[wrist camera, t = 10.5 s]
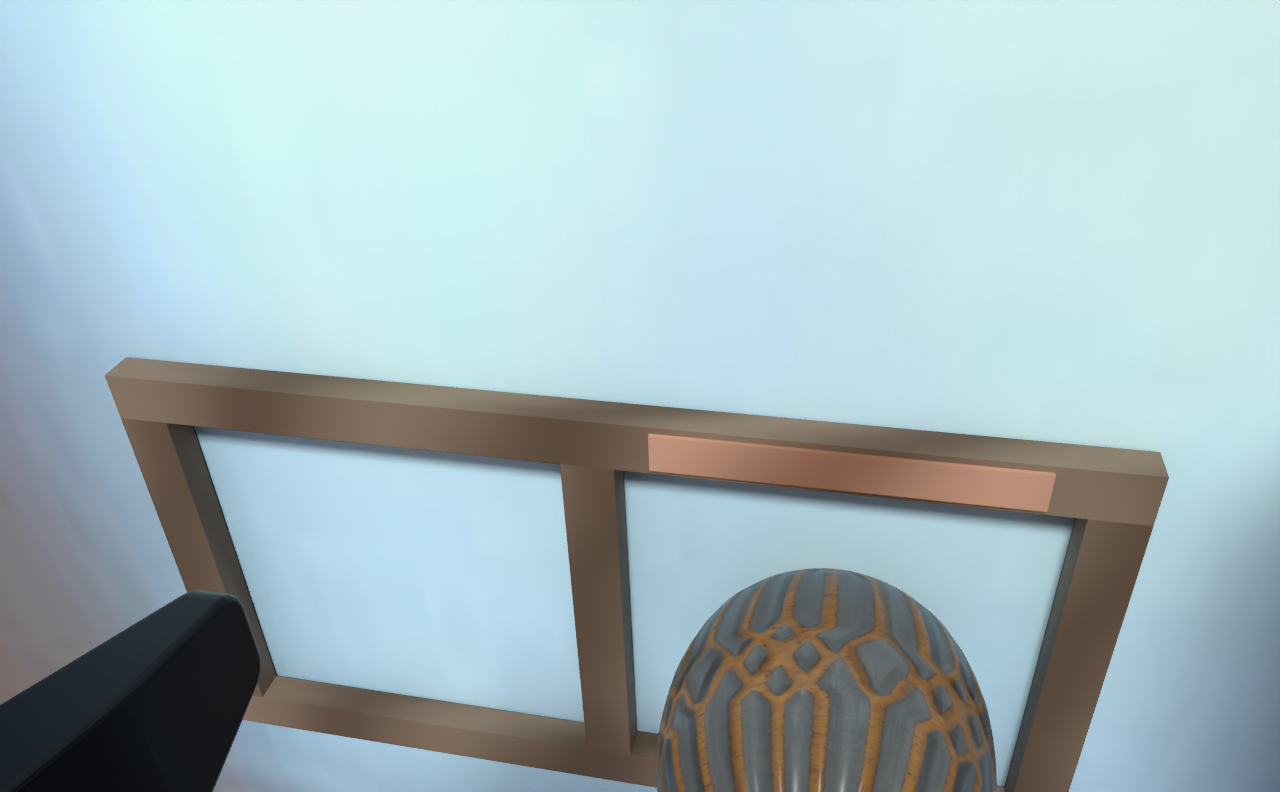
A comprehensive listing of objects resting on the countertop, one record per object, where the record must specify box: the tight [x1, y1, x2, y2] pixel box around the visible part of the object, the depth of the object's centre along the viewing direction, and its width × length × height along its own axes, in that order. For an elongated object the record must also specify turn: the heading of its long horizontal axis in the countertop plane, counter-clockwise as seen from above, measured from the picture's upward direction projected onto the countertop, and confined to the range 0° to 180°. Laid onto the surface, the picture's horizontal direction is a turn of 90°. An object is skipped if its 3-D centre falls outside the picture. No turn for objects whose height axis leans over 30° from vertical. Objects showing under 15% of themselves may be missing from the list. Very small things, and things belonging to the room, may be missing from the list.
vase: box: [656, 568, 997, 792], centre depth 21 cm, size 7×7×9 cm
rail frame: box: [105, 358, 1169, 792], centre depth 25 cm, size 23×12×1 cm, turn 91°
